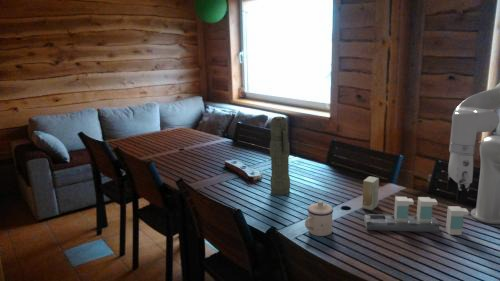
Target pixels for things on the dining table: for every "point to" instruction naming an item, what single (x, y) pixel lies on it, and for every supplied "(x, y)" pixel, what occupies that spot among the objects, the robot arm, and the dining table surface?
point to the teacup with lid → (319, 219)
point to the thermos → (279, 157)
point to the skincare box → (370, 192)
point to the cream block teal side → (425, 209)
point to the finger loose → (455, 219)
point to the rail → (399, 223)
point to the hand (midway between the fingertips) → (456, 195)
